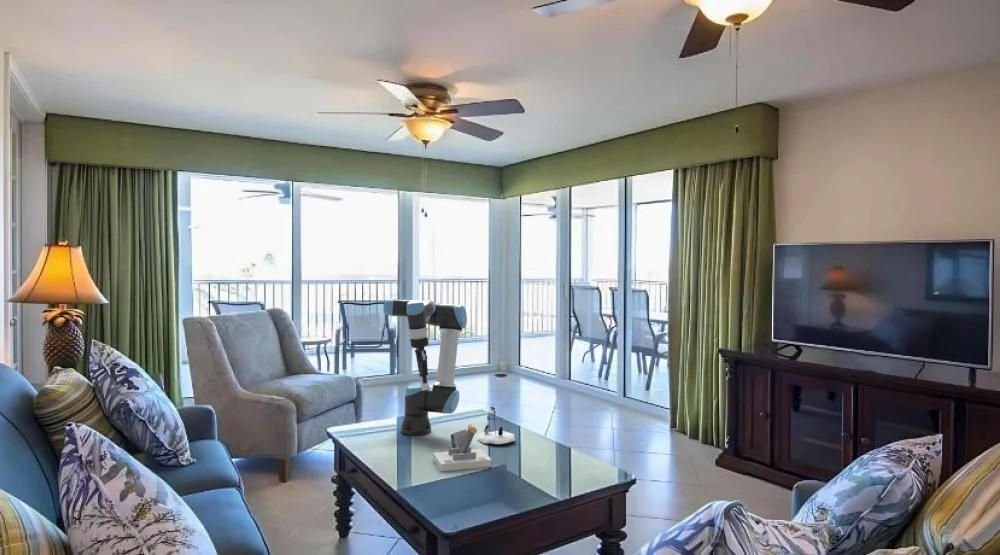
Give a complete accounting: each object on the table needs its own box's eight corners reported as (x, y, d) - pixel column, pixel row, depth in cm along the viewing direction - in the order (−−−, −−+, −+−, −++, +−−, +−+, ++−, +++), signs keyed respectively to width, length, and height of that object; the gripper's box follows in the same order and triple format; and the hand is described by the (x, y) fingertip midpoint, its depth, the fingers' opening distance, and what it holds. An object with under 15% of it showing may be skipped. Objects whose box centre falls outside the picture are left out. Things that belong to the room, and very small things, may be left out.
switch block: (432, 459, 252) (433, 447, 251) (481, 455, 259) (481, 443, 259) (440, 471, 239) (441, 458, 238) (491, 466, 246) (491, 454, 246)
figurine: (524, 441, 279) (523, 407, 279) (492, 447, 268) (491, 412, 269) (500, 433, 295) (499, 401, 296) (469, 439, 285) (468, 406, 285)
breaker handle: (456, 451, 251) (469, 423, 252) (461, 453, 252) (473, 425, 253) (460, 456, 246) (472, 427, 247) (465, 458, 246) (477, 429, 248)
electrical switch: (457, 452, 263) (456, 433, 263) (449, 450, 265) (449, 432, 266) (469, 447, 269) (468, 429, 269) (462, 446, 272) (461, 428, 272)
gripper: (431, 338, 244) (437, 392, 247) (424, 332, 256) (430, 383, 260) (413, 341, 241) (420, 396, 245) (407, 335, 253) (413, 386, 257)
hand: (425, 389), depth 252 cm, fingers closed
